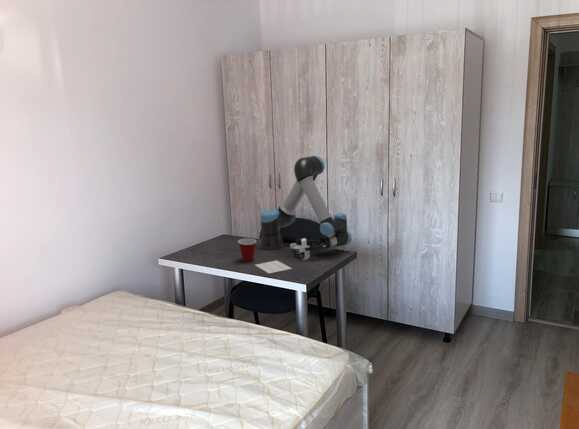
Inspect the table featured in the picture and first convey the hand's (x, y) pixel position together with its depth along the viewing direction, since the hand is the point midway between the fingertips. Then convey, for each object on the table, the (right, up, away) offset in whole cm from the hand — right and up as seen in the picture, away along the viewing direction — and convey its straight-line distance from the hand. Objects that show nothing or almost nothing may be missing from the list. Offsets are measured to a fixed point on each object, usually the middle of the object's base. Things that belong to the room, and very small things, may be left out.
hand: (295, 248), depth 273 cm
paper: (-12, -10, -10) cm, 18 cm away
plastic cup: (-27, -8, +5) cm, 29 cm away
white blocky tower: (+4, -7, +4) cm, 8 cm away
